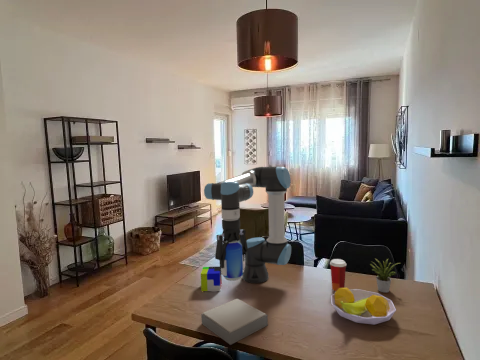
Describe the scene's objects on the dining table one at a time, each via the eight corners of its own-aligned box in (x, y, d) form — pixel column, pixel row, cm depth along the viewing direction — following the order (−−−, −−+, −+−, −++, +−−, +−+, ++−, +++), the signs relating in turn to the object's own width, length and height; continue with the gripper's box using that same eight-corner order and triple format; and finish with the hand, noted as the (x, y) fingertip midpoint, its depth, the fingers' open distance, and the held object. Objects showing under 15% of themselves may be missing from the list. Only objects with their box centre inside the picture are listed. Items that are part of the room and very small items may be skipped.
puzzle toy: (220, 291, 164) (219, 273, 163) (201, 292, 164) (200, 273, 163) (221, 283, 174) (221, 266, 173) (203, 284, 174) (203, 266, 173)
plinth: (237, 308, 146) (237, 297, 146) (267, 325, 131) (267, 313, 130) (201, 323, 133) (201, 312, 133) (230, 345, 118) (230, 332, 117)
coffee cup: (344, 286, 166) (344, 258, 165) (348, 292, 158) (348, 264, 157) (328, 285, 167) (328, 258, 166) (331, 292, 159) (331, 264, 157)
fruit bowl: (362, 296, 154) (362, 274, 153) (410, 323, 128) (410, 297, 128) (314, 308, 144) (314, 284, 143) (356, 340, 118) (356, 311, 118)
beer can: (225, 282, 125) (224, 244, 124) (221, 275, 133) (219, 238, 132) (245, 279, 127) (244, 241, 126) (239, 272, 135) (238, 236, 134)
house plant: (394, 284, 166) (395, 254, 165) (405, 296, 153) (406, 263, 151) (367, 283, 168) (367, 254, 166) (375, 295, 154) (376, 263, 153)
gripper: (215, 224, 118) (217, 282, 120) (255, 216, 132) (257, 267, 134) (204, 221, 124) (206, 276, 126) (244, 213, 138) (245, 263, 140)
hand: (232, 272), depth 130 cm, fingers closed on beer can, 8 cm apart
